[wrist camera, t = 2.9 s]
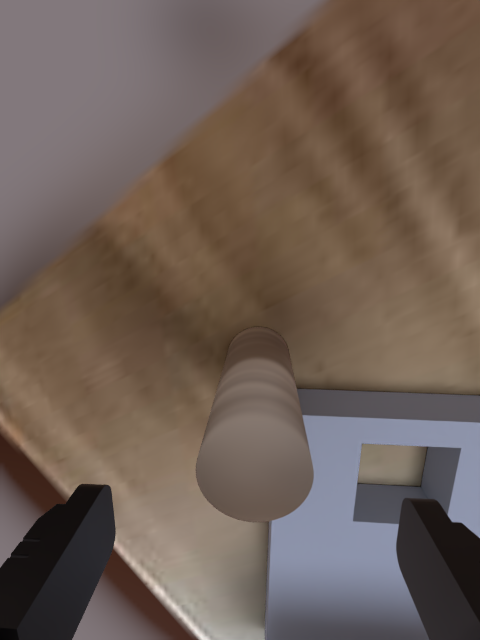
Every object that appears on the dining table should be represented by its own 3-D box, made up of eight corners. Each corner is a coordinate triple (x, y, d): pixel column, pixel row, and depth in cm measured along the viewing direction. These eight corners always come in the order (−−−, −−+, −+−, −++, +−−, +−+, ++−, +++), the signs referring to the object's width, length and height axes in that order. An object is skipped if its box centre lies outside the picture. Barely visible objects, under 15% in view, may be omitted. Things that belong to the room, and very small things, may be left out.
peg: (227, 325, 20) (194, 419, 10) (290, 327, 19) (317, 424, 10) (227, 382, 21) (197, 518, 11) (287, 385, 20) (309, 525, 11)
